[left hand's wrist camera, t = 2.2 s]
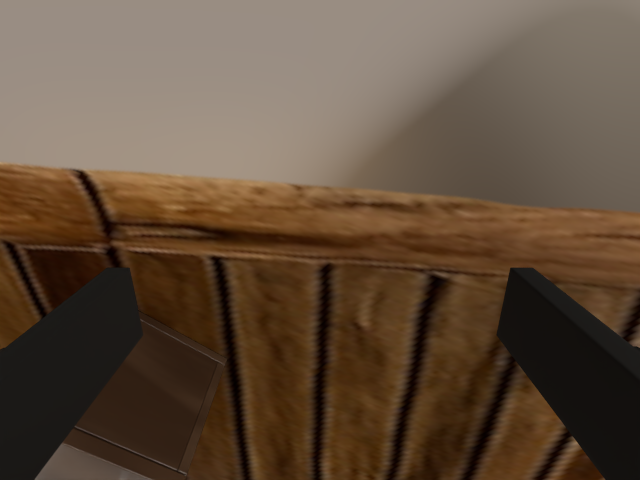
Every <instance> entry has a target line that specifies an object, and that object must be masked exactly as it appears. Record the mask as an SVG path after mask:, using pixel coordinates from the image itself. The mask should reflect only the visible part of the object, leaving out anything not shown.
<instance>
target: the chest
mask: <svg viewBox="0 0 640 480" xmlns="http://www.w3.org/2000/svg"><path fill="white" fill-rule="evenodd" d="M139 316H140V321H141V326H142V330H143V336H142V338H141V339H140V340H139V342H138V343H137V344H136V346H135V347H134V348H133V350H132V351H131V352H130V354H129V355H128V356H127V357H126V359H125V360H124V361H123V363H122V364H121V365H120V367H119V368H118V369H117V371H116V372H115V373H114V375H113V376H112V377H111V379H110V380H109V381H108V383H107V384H106V385H105V387H104V388H103V389H102V391H101V392H100V393H99V395H98V396H97V397H96V399H95V400H94V401H93V403H92V404H91V405H90V407H89V408H88V409H87V411H86V412H85V413H84V415H83V416H82V417H81V419H80V420H79V421H78V422H77V424H76V425H75V426H74V429H77V430H79V431H81V432H84V433H86V434H88V435H91V436H93V437H95V438H98V439H100V440H103V441H105V442H107V443H110V444H112V445H114V446H117V447H119V448H121V449H124V450H126V451H128V452H131V453H133V454H136V455H138V456H140V457H143V458H145V459H147V460H150V461H152V462H154V463H157V464H159V465H161V466H164V467H166V468H168V469H171V470H173V471H176V472H178V473H180V474H183V475H185V476H186V475H187V473H188V470H189V467H190V464H191V462H192V459H193V456H194V453H195V450H196V447H197V444H198V441H199V438H200V436H201V433H202V430H203V427H204V424H205V421H206V418H207V415H208V412H209V410H210V407H211V404H212V401H213V398H214V395H215V392H216V389H217V387H218V384H219V381H220V378H221V375H222V372H223V369H224V366H225V364H226V361H227V359H226V358H225V357H223V356H221V355H219V354H217V353H215V352H213V351H212V350H210V349H208V348H206V347H204V346H202V345H201V344H199V343H197V342H195V341H193V340H191V339H190V338H188V337H186V336H184V335H182V334H180V333H178V332H177V331H175V330H173V329H171V328H169V327H167V326H166V325H164V324H162V323H160V322H158V321H156V320H155V319H153V318H151V317H149V316H147V315H145V314H143V313H142V312H140V311H139Z"/></svg>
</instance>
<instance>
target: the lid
mask: <svg viewBox="0 0 640 480" xmlns="http://www.w3.org/2000/svg"><path fill="white" fill-rule="evenodd" d="M185 479H186V476H185V475H183V474H180V473H178V472H176V471H173V470H171V469H168V468H166V467H164V466H161V465H159V464H157V463H154V462H152V461H150V460H147V459H145V458H143V457H140V456H138V455H136V454H133V453H131V452H128V451H126V450H124V449H121V448H119V447H117V446H114V445H112V444H110V443H107V442H105V441H103V440H100V439H98V438H95V437H93V436H91V435H88V434H86V433H84V432H81V431H79V430H77V429H74V428H73V429H72V430H71V432H70V433H69V434H68V436H67V437H66V438H65V440H64V441H63V442H62V444H61V445H60V446H59V448H58V449H57V450H56V452H55V453H54V454H53V456H52V457H51V458H50V460H49V461H48V462H47V464H46V465H45V466H44V468H43V469H42V470H41V472H40V473H39V474H38V476H37V477H36V478H35V480H185Z"/></svg>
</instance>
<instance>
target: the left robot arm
mask: <svg viewBox="0 0 640 480" xmlns="http://www.w3.org/2000/svg"><path fill="white" fill-rule="evenodd" d="M142 336H143V330H142V326H141V321H140V316H139V311H138V306H137V302H136V297H135V292H134V287H133V282H132V278H131V273H130V268H106V269H105V270H104V271H103V272H101V273H100V274H99V275H97V276H96V277H95V278H94V279H92V280H91V281H90V282H89V283H87V284H86V285H85V286H83V287H82V288H81V289H80V290H78V291H77V292H76V293H75V294H73V295H72V296H71V297H69V298H68V299H67V300H66V301H64V302H63V303H62V304H60V305H59V306H58V307H57V308H55V309H54V310H53V311H52V312H50V313H49V314H48V315H46V316H45V317H44V318H43V319H41V320H40V321H39V322H38V323H36V324H35V325H34V326H32V327H31V328H30V329H29V330H27V331H26V332H25V333H24V334H22V335H21V336H20V337H18V338H17V339H16V340H15V341H13V342H12V343H11V344H10V345H8V346H7V347H6V348H2V349H0V480H35V478H36V477H37V476H38V474H39V473H40V472H41V470H42V469H43V468H44V466H45V465H46V464H47V462H48V461H49V460H50V458H51V457H52V456H53V454H54V453H55V452H56V450H57V449H58V448H59V446H60V445H61V444H62V442H63V441H64V440H65V438H66V437H67V436H68V434H69V433H70V432H71V430H72V429H73V428H74V426H75V425H76V424H77V422H78V421H79V420H80V419H81V417H82V416H83V415H84V413H85V412H86V411H87V409H88V408H89V407H90V405H91V404H92V403H93V401H94V400H95V399H96V397H97V396H98V395H99V393H100V392H101V391H102V389H103V388H104V387H105V385H106V384H107V383H108V381H109V380H110V379H111V377H112V376H113V375H114V373H115V372H116V371H117V369H118V368H119V367H120V365H121V364H122V363H123V361H124V360H125V359H126V357H127V356H128V355H129V354H130V352H131V351H132V350H133V348H134V347H135V346H136V344H137V343H138V342H139V340H140V339H141V338H142ZM497 336H498V338H499V339H500V340H501V342H502V343H503V344H504V346H505V347H506V348H507V350H508V351H509V352H510V354H511V355H512V356H513V357H514V359H515V360H516V361H517V363H518V364H519V365H520V367H521V368H522V369H523V371H524V372H525V373H526V375H527V376H528V377H529V379H530V380H531V381H532V383H533V384H534V385H535V387H536V388H537V389H538V391H539V392H540V393H541V395H542V396H543V397H544V399H545V400H546V401H547V403H548V404H549V405H550V407H551V408H552V409H553V411H554V412H555V413H556V415H557V416H558V417H559V419H560V420H561V421H562V422H563V424H564V425H565V426H566V428H567V429H568V430H569V432H570V433H571V434H572V436H573V437H574V438H575V440H576V441H577V442H578V444H579V445H580V446H581V448H582V449H583V450H584V452H585V453H586V454H587V456H588V457H589V458H590V460H591V461H592V462H593V464H594V465H595V466H596V468H597V469H598V470H599V472H600V473H601V474H602V476H603V477H604V478H605V480H640V348H639V347H633V346H632V345H630V344H629V343H628V342H627V341H625V340H624V339H623V338H622V337H620V336H619V335H618V334H616V333H615V332H614V331H613V330H611V329H610V328H609V327H608V326H606V325H605V324H604V323H602V322H601V321H600V320H599V319H597V318H596V317H595V316H594V315H592V314H591V313H590V312H588V311H587V310H586V309H585V308H583V307H582V306H581V305H580V304H578V303H577V302H576V301H574V300H573V299H572V298H571V297H569V296H568V295H567V294H565V293H564V292H563V291H562V290H560V289H559V288H558V287H557V286H555V285H554V284H553V283H551V282H550V281H549V280H548V279H546V278H545V277H544V276H543V275H541V274H540V273H539V272H537V271H536V270H535V269H534V268H510V273H509V278H508V282H507V287H506V292H505V297H504V302H503V306H502V311H501V316H500V321H499V326H498V330H497Z"/></svg>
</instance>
